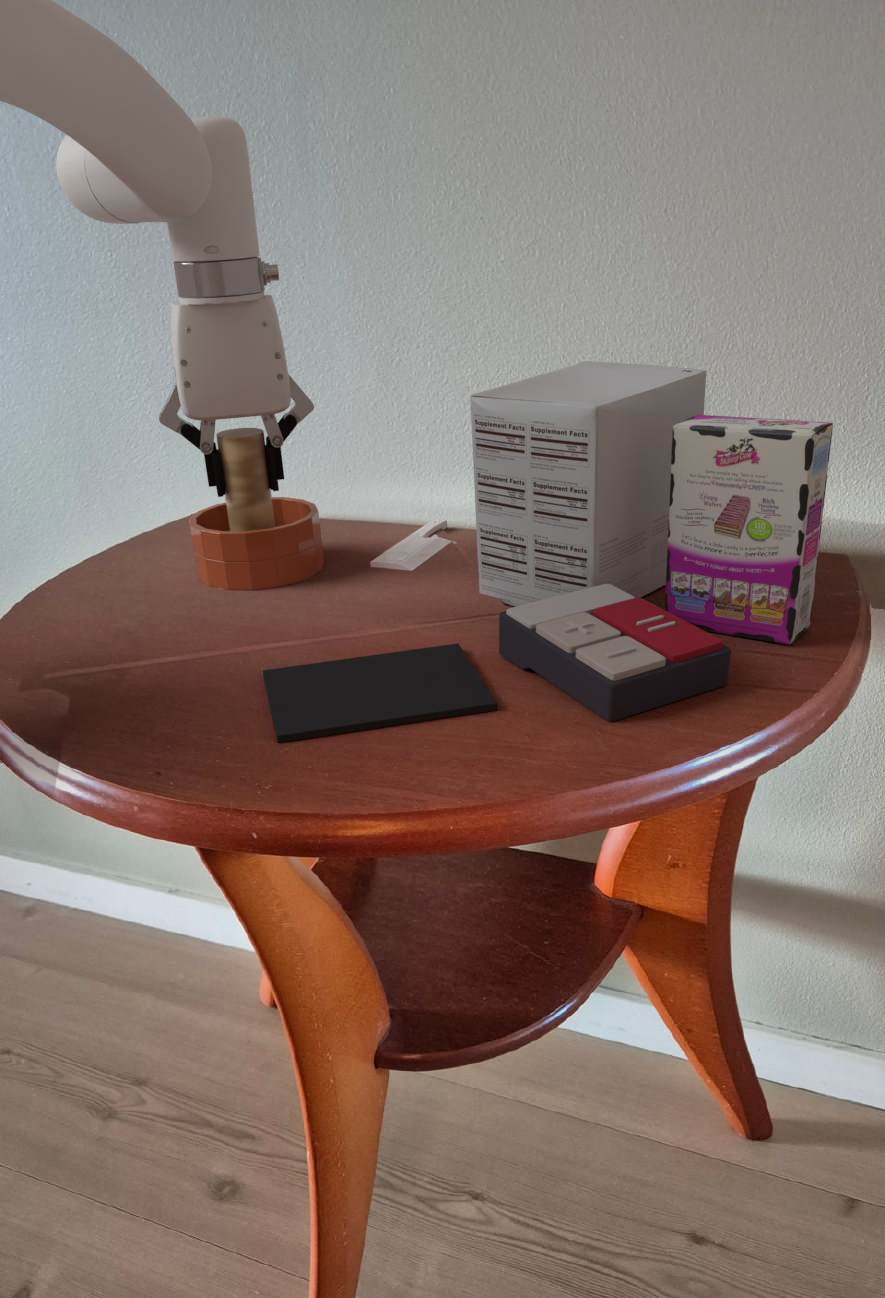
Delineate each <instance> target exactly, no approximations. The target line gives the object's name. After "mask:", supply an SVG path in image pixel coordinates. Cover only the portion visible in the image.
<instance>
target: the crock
mask: <svg viewBox="0 0 885 1298" xmlns="http://www.w3.org/2000/svg"><path fill="white" fill-rule="evenodd" d="M272 504H273V513H274V521H275V527H274V528H269V529H261V530H252V531H230V527H229V520H228V513H227V506H226V502H221V503H216V504H214V505H211V506H208V507H206V508H203V509H201V510H198V511H197V512H195V513H194V514H193V515H192V516H190V517H189V518H188V521H189V522H188V523H189V529H190V536H191V541H192V547H193V552H194V553H193V554H194V559H195V564H196V571H197V577H198V581H199V582H201V583H202V584H204V585H206V586H208V587H211V588H214V589H219V590H225V591H226V590H227V591H241V592H242V591H259V590H269V589H275V588H281V587H287V586H291V585H293V584H297V583H300V582H303V581H306V580H308V579H310V578H313V576H315V575H317V574H319V572H320V571H321V570H322V569H323V567H324V566H325V559H324V549H323V541H322V532H321V522H320V521H321V520H320V514H319V509H318V507H317V504H315V503H314V502H310V501H308V500H306V499H302V498H295V497H288V496H287V497H286V496H272Z"/></svg>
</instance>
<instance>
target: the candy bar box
mask: <svg viewBox="0 0 885 1298" xmlns="http://www.w3.org/2000/svg"><path fill="white" fill-rule="evenodd" d="M833 427H834V423H833V422H827V421H810V420H809V421H808V420H798V419H785V418H784V419H781V418H763V417H747V416H746V417H744V416H727V415H712V414H711V415H709V414H704V415H696V416H693V417H691V418H688V419H686V420H685V421H682V422H680V423H678V424H676V425H674V426H673V431H672V450H671V481H670V503H669V522H668V547H667V569H666V585H665V589H664V590H665V593H664V609H663V610H665V611H667V612H669V613H671V614H673V615H675V616H677V617H679V618H681V619H683V620H684V621H686V622H688V623H690V624H692V625H694V626H696V627H698V628H700V629H702V630H704V631H706V632H711V633H717V634H723V635H728V636H729V635H730V636H734V637H735V636H736V637H739V638H740V637H741V638H747V639H752V640H753V639H754V640H758V641H764V642H770V643H776V644H782V645H788V646H789V645H792V644H794V642H796V640H798V638H799V637H800V636H802V635H803V634H804V633H805V632H806V631H807V630H808V629H809V628H810V627H811V622H812V616H813V608H814V607H813V606H814V597H815V589H816V588H815V587H816V580H817V579H816V578H817V572H818V571H817V570H818V561H819V552H820V551H819V550H820V544H821V543H820V542H821V536H822V535H821V534H822V524H823V515H824V507H825V498H826V492H827V491H826V490H827V482H828V481H827V480H828V472H829V462H830V456H831V455H830V454H831V446H832V445H831V444H832V437H833Z"/></svg>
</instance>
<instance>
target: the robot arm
mask: <svg viewBox="0 0 885 1298" xmlns="http://www.w3.org/2000/svg"><path fill="white" fill-rule="evenodd" d="M0 102H1V103H2V102H3V103H6V104H8V105H11V106H14V107H16V108H19V109H21V110H23V111H25V112H27V113H30V114H31V115H33V116H35V117H37V118H39V119H41V120H43V121H45V123H47V124H49V125H51V126H53V127H54V128H56V129H57V130H59V131H60V132H62V133H64V134H65V136H64V137H63V139H62V141H61V142H60V145H59V147H58V150H57V153H56V160H55V168H56V169H55V170H56V176H57V180H58V183H59V186H60V188H61V190H62V192H63V193H64V195H65V197H66V198H67V200H68V201H69V202H70V204H71V205H72V206H74V208H75V209H77V210H78V211H79V212H81V213H82V214H83V215H85V216H86V217H88V218H90V219H93V220H95V221H99V222H102V223H106V224H114V225H128V224H129V225H130V224H133V225H134V224H141V223H166V224H167V229H168V236H169V243H170V251H171V256H172V261H173V269H174V270H173V271H174V276H175V282H176V289H177V295H178V300H175V301H172V302H170V338H171V349H172V358H173V368H174V376H175V377H174V378H175V383H174V385H173V387H172V389H171V391H170V393H169V395H168V397H167V399H166V400H165V403H164V405H163V407H162V409H161V410H160V412H159V415H158V420H159V423H160V424H161V425H162V426H164V427H166V428H167V429H168V428H169V429H170V430H172V431H173V432H175V433H177V434H179V435H180V436H182V437H183V438H184V439H185V440H186V441H188V442H189V443H191V445H193V446H194V447H195V448H197V449H198V450H200V452H201V453H202V454H203V456H204V464H205V469H206V471H205V472H206V477H207V483H208V487H210V488H211V487H215V488H216V494H217V497H218V498H221V497H224V496H225V489H224V482H223V475H222V468H221V461H220V454H219V450H218V448H217V443H216V442H215V431H216V421H217V420H229V419H230V420H231V419H238V418H251V417H260V418H261V421H262V423H263V427H264V429H265V431H266V434H267V436H266V437H265V447H266V456H267V464H268V472H269V480H270V488H271V491H273V492H279V491H280V488H279V481H280V480H285V472H284V463H283V455H282V446H283V445H284V442H285V441H286V440H287V438H288V437H289V436H290V435H291V434H292V432H293V431H294V430H295V428H296V426H297V425H298V424H299V423H300V422H303V420H304V419H305V418H307V416H308V415H310V414H311V413H312V412H313V411H314V409H315V404H314V403H313V401H312V400H311V399H310V398H309V396H308V395H307V394H306V393H305V392H304V390H303V389H302V388H301V387H300V385H299V384H298V383H297V382H296V380H295V379H293V377H292V376H291V375H290V374H289V369H288V368H289V367H288V363H287V361H288V360H287V356H286V350H285V349H286V348H285V345H284V339H283V335H282V331H281V327H280V321H279V316H278V311H277V308H276V305H275V302H274V298H273V296H272V295H270V294H265V289H266V288H265V287H266V286H268V284H271V283H272V282H276V281H277V282H278V281H280V274H279V267H278V264H274V263H273V264H270V263H269V262H265V261H264V260H262V258H261V257H260V256H261V253H260V245H259V239H258V238H259V237H258V236H259V235H258V228H257V219H256V210H255V202H254V201H255V200H254V194H253V193H254V192H253V184H252V183H253V182H252V176H251V175H252V174H251V166H250V157H249V147H248V142H247V136H246V134H245V131H244V129H243V127H242V126H241V124H239V122H237V121H236V120H234V119H231V118H228V117H220V116H219V117H218V116H215V117H214V116H206V117H190V116H189V115H188V114H187V113H186V112H185V110H184V109H183V108H182V106H180V104H179V103H178V102H177V101H176V100H175V99H174V98H173V97H172V96H171V95H170V94H169V93H168V92H167V91H166V90H165V88H163V86H162V84H160V83H159V82H158V81H157V80H156V79H155V78H154V77H153V76H152V74H150V72H148V70H146V69H145V68H144V66H142V65H141V63H139V62H138V61H137V60H136V58H134V56H132V55H130V54H129V53H128V51H126V50H125V49H124V48H122V47H121V46H120V45H119V44H118V43H116V42H115V41H114V40H112V39H111V38H110V37H109V36H107V35H106V34H104V33H103V32H101V30H98V29H97V28H96V27H94V26H93V25H91V24H90V23H88V22H86V21H85V20H83V19H82V18H81V17H79V16H78V15H76V14H74V13H72V12H70V11H69V10H68V9H66V8H64V7H63V6H62V5H60V4H59V3H57V2H55V1H54V0H0ZM291 400H293V402H294V404H293V406H292V407H291V408H290V406H291V403H292V402H291ZM180 408H181V411H182V413H183V416H185V417H186V418H188V419H190V420H194V421H200V422H199V423H200V424H199V428H198V427H196V426H195V424H193V423H191V422H190V421H187V420H185V419H184V418H183V417H180V416H179V415H178V413H179V410H180ZM288 408H290V409H289V411H288V412H286V413H284V414H283V415H282V417H281V418H280V419H279V421H278V420H277V418H276V414H280V413H283V412H285V411H287V410H288Z"/></svg>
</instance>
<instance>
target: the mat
mask: <svg viewBox="0 0 885 1298" xmlns="http://www.w3.org/2000/svg"><path fill="white" fill-rule="evenodd" d="M262 675H263V681H264V685H265V690H266V694H267V700H268V704H269V708H270V714H271V717H272V722H273V728H274V732H275V736H276V742H277V744H279V743H280V744H281V743H286V742H287V743H288V742H293V741H301V740H306V739H312V738H313V739H314V738H320V737H327V736H333V735H341V734H347V733H353V732H358V731H359V732H360V731H366V730H367V731H368V730H373V729H380V728H386V727H387V728H388V727H394V726H400V725H406V724H413V723H419V722H426V721H433V720H440V719H447V718H454V717H460V716H467V715H474V714H480V713H486V712H492V711H493V712H495V711H498V708H499V707H498V702H497V700H496V698H495V696H493V694H492V693H491V691H490V690H489V688H488V686H487V685H486V684H485V682H484V680H483V679H482V677H481V676H480V674H479V672H478V671H477V670H476V668H475V667H474V665H473V663H472V662H471V660H470V659H469V657H468V656H467V654H466V653H465V651H464V649H463V648H462V647H461V645H460V643H450V644H444V645H436V646H429V647H421V648H415V649H414V648H413V649H408V650H407V649H406V650H399V651H392V652H386V653H378V654H372V655H371V654H370V655H364V656H357V657H349V658H343V659H334V660H327V661H321V662H312V663H306V664H299V665H292V666H285V667H283V666H282V667H275V668H270V669H263V670H262Z"/></svg>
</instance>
